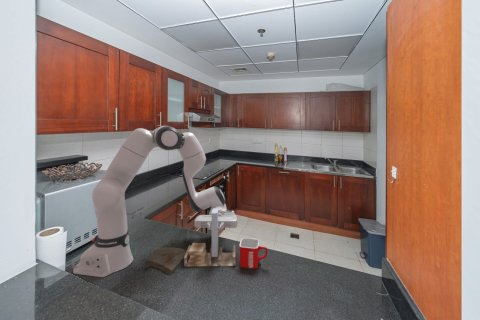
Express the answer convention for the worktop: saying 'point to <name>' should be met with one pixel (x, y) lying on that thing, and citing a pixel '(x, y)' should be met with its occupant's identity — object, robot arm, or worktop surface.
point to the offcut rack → (215, 258)
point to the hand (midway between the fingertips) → (214, 229)
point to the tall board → (214, 232)
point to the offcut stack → (197, 254)
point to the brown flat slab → (167, 259)
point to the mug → (250, 252)
